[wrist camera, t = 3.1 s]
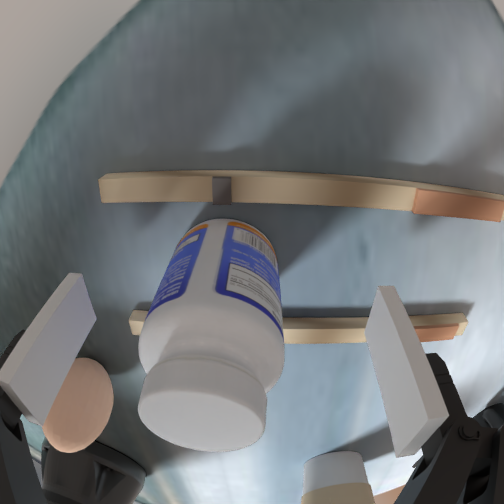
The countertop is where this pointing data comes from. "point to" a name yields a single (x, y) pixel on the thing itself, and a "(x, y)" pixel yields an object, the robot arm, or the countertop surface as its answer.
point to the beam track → (311, 193)
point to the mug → (491, 416)
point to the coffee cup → (336, 480)
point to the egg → (80, 407)
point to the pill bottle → (213, 339)
